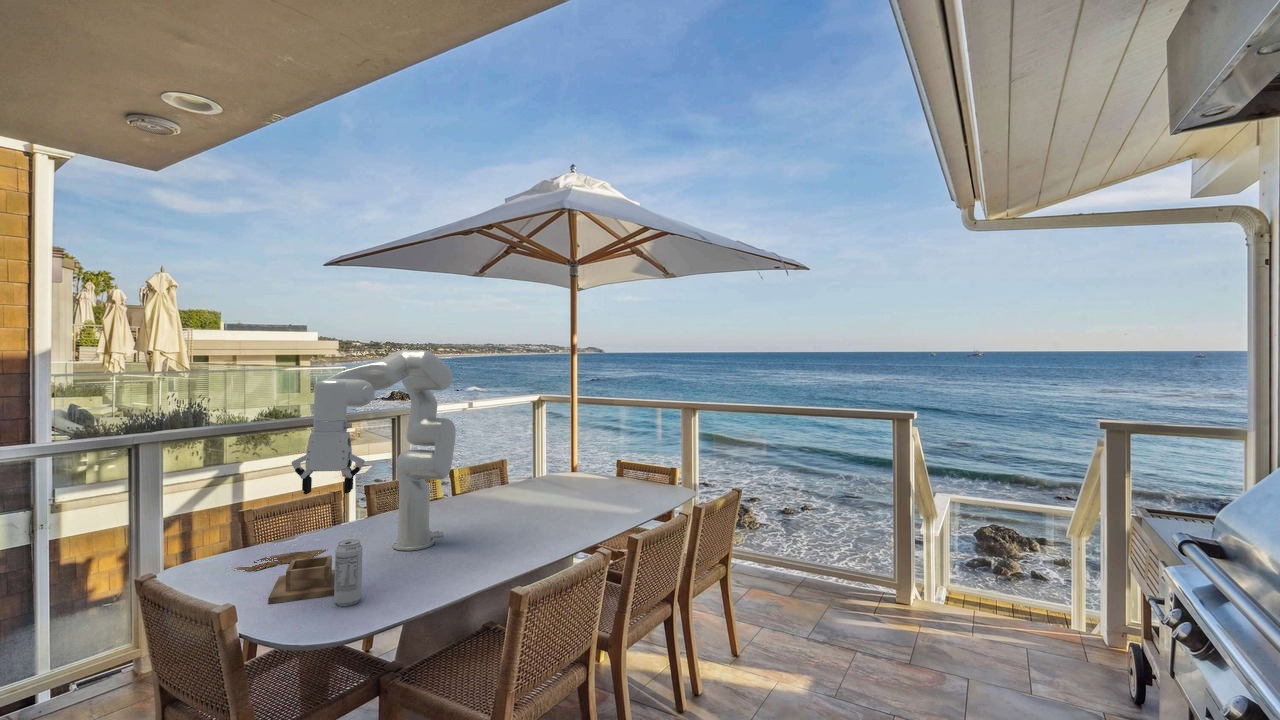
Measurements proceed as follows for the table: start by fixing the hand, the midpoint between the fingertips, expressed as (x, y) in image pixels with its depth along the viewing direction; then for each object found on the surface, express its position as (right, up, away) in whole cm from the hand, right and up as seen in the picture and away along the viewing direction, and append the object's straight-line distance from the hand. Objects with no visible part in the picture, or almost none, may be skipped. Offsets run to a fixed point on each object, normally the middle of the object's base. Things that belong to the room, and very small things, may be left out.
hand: (327, 492), depth 146 cm
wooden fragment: (-27, -27, +25) cm, 45 cm away
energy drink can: (+8, -26, -6) cm, 28 cm away
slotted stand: (-7, -26, +3) cm, 27 cm away
